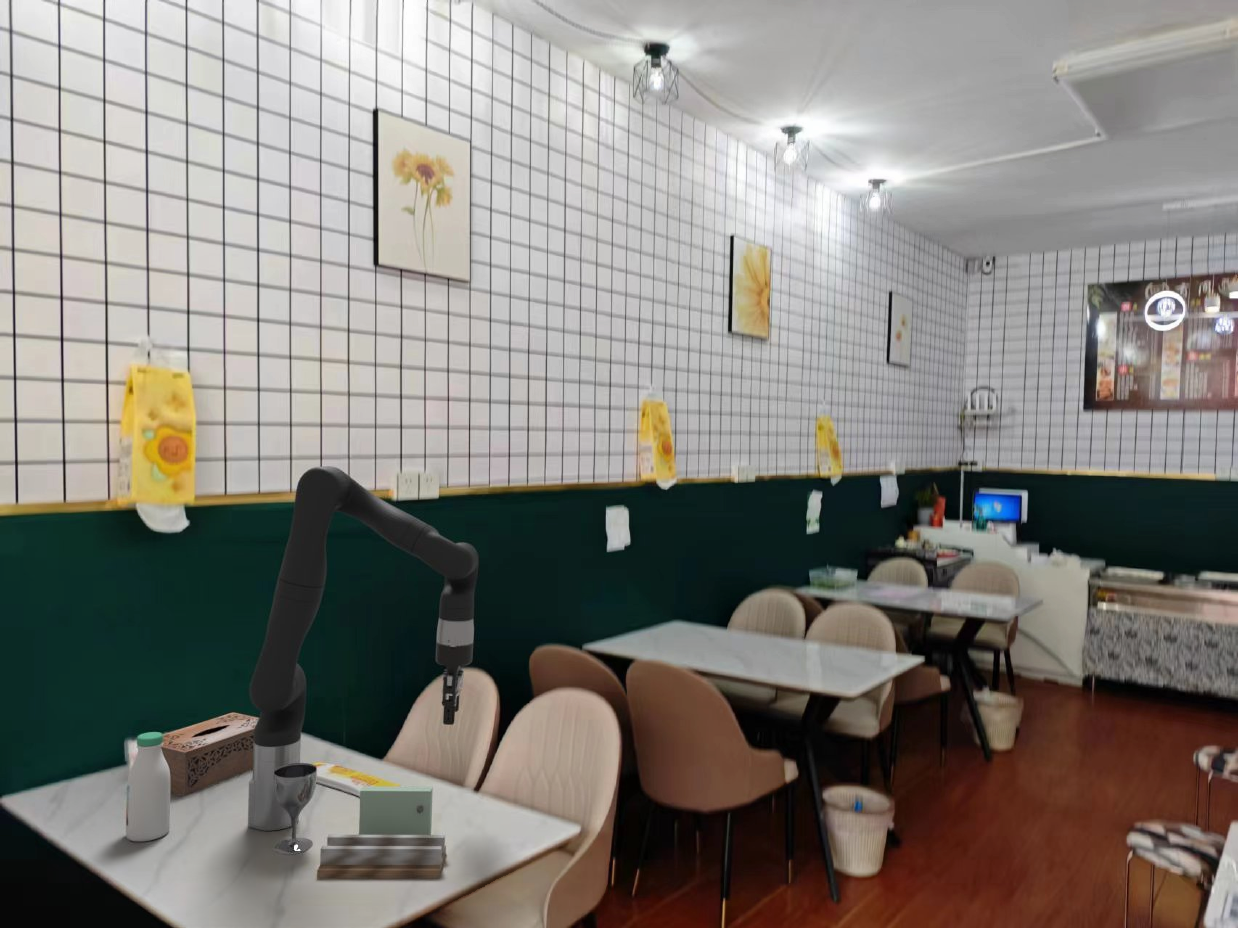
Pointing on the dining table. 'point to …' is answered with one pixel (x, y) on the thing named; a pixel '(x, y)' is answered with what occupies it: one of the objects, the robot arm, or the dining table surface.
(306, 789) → the wine glass
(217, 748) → the tissue box cover
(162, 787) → the milk bottle
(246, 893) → the dining table surface
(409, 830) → the door panel
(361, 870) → the door track
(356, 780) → the food package
